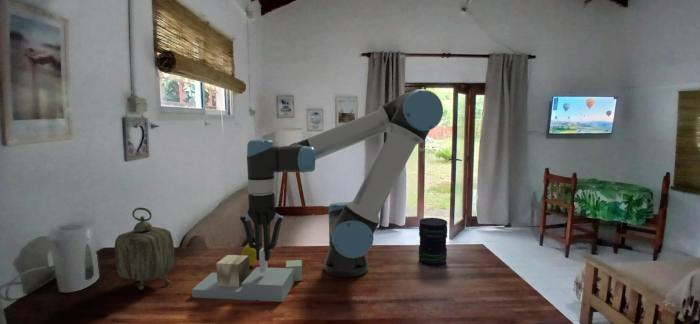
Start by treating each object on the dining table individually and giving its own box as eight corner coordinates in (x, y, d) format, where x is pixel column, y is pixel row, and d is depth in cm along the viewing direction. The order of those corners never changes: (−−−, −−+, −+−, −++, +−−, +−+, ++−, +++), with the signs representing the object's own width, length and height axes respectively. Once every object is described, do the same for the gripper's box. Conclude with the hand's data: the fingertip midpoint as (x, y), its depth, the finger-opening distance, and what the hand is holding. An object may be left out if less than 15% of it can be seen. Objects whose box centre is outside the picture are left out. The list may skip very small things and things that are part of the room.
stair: (294, 283, 116) (293, 268, 116) (282, 301, 104) (282, 285, 104) (212, 279, 119) (211, 265, 119) (192, 297, 107) (191, 281, 107)
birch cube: (248, 255, 114) (227, 254, 115) (239, 264, 107) (216, 263, 108) (249, 277, 115) (228, 276, 116) (239, 287, 108) (217, 286, 109)
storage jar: (450, 260, 134) (451, 219, 132) (441, 269, 126) (442, 226, 124) (424, 254, 139) (424, 216, 138) (414, 263, 131) (414, 222, 129)
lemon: (254, 269, 127) (253, 247, 126) (239, 268, 128) (238, 246, 127) (261, 263, 132) (260, 241, 131) (246, 262, 133) (245, 241, 132)
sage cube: (301, 274, 123) (301, 259, 122) (302, 280, 118) (301, 265, 118) (286, 275, 122) (286, 260, 122) (286, 281, 117) (285, 266, 117)
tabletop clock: (176, 283, 117) (171, 205, 114) (154, 296, 108) (148, 213, 105) (139, 278, 121) (133, 203, 118) (114, 290, 112) (108, 210, 109)
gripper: (287, 190, 111) (288, 266, 113) (245, 189, 112) (247, 264, 115) (279, 196, 103) (281, 276, 106) (234, 194, 105) (237, 274, 107)
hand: (263, 270), depth 110 cm, fingers closed
